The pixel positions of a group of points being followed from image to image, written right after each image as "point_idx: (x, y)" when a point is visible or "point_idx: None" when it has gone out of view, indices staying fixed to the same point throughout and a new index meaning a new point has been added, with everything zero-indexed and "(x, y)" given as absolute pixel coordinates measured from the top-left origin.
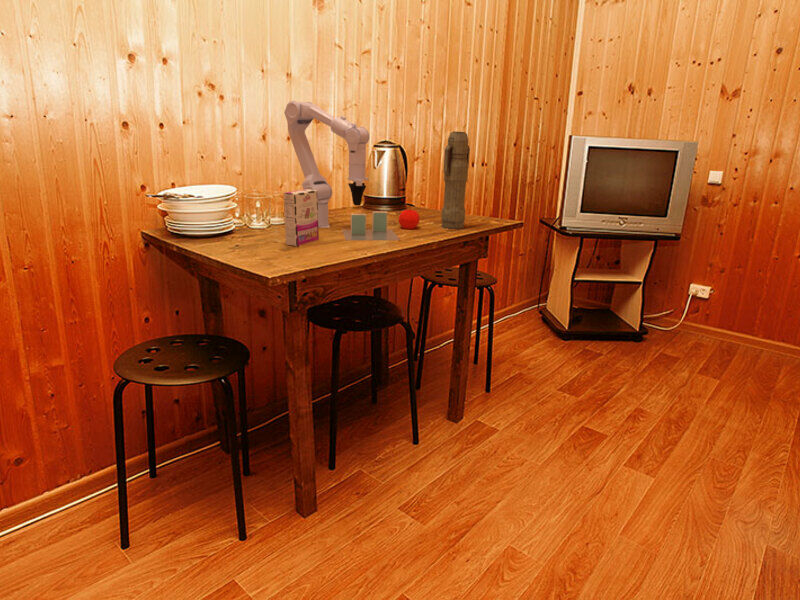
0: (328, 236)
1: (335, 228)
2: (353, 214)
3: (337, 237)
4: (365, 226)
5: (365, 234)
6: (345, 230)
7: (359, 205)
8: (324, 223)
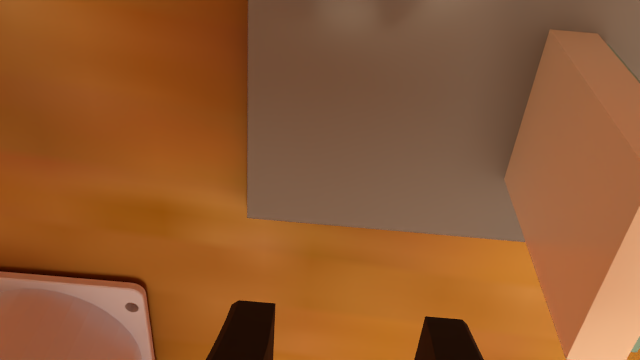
0: (470, 326)
1: (109, 235)
2: (635, 342)
3: (532, 277)
4: (636, 87)
5: (597, 39)
6: (302, 195)
7: (464, 332)
8: (110, 346)
